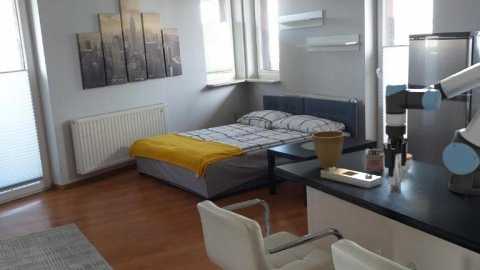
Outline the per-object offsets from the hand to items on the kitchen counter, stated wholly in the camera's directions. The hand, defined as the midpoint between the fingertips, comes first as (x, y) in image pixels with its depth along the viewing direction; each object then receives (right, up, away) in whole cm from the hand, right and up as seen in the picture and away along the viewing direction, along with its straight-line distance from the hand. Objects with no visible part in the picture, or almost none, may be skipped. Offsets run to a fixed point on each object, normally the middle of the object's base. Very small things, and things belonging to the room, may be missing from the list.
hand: (395, 182), depth 189 cm
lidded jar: (+10, +2, +25) cm, 27 cm away
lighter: (0, +2, +30) cm, 30 cm away
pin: (0, -3, +1) cm, 3 cm away
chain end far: (-17, 0, +21) cm, 27 cm away
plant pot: (-19, +3, +40) cm, 45 cm away
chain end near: (-11, -1, +14) cm, 17 cm away
